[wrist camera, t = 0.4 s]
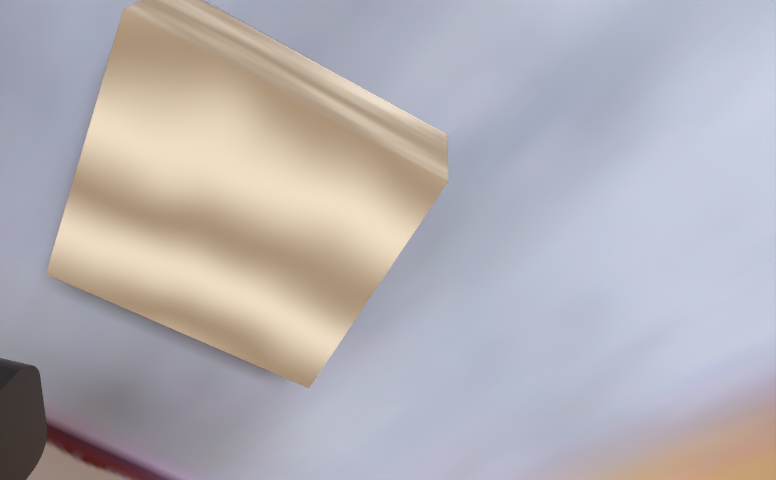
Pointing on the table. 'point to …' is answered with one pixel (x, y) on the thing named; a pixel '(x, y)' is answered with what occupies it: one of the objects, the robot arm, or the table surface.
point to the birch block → (241, 188)
